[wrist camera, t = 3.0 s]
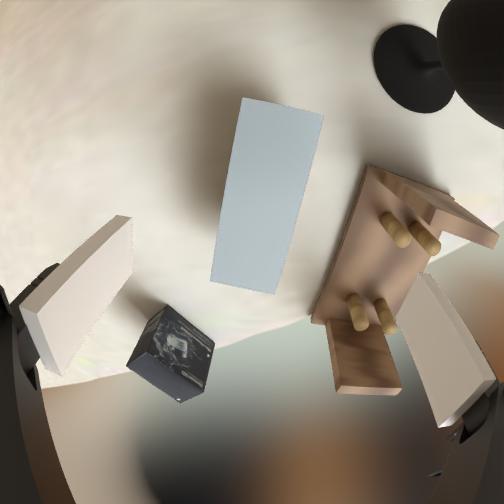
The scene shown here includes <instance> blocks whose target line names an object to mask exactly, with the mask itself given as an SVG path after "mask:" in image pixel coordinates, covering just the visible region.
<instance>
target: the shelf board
mask: <svg viewBox="0 0 504 504" xmlns="http://www.w3.org/2000/svg"><path fill="white" fill-rule="evenodd" d="M323 118H324V116H323V115H320V114H316V113H313V112H309V111H305V110H301V109H297V108H293V107H289V106H284V105H280V104H275V103H271V102H266V101H261V100H256V99H250V98H245V97H242V102H241V107H240V112H239V117H238V122H237V127H236V132H235V137H234V142H233V147H232V152H231V158H230V163H229V168H228V174H227V179H226V185H225V191H224V196H223V202H222V208H221V214H220V220H219V226H218V232H217V238H216V245H215V251H214V257H213V264H212V271H211V277H210V281H212V282H216V283H221V284H226V285H230V286H235V287H240V288H245V289H249V290H254V291H259V292H264V293H269V294H275V291H276V288H277V285H278V281H279V278H280V275H281V271H282V268H283V265H284V261H285V258H286V255H287V251H288V248H289V244H290V241H291V237H292V234H293V230H294V227H295V223H296V220H297V216H298V213H299V209H300V206H301V202H302V198H303V195H304V191H305V187H306V184H307V180H308V176H309V173H310V169H311V165H312V161H313V157H314V154H315V150H316V146H317V142H318V138H319V134H320V130H321V126H322V122H323Z"/></svg>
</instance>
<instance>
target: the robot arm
mask: <svg viewBox="0 0 504 504" xmlns="http://www.w3.org/2000/svg"><path fill="white" fill-rule="evenodd" d="M132 273H133V250H132V218H131V217H125V216H119V215H116V216H115V217H114V218H113V219H112V220H110V221H109V222H108V223H107V224H105V225H104V226H103V227H102V228H101V229H99V230H98V231H97V232H96V233H95V234H94V235H92V236H91V237H90V238H89V239H88V240H87V241H85V242H84V243H83V244H82V245H81V246H80V247H79V248H78V249H76V250H75V251H74V252H73V253H72V254H71V255H70V256H69V257H68V258H67V259H65V260H64V261H63V262H62V263H61V264H59V263H56V264H54V265H52V266H50V267H48V268H46V269H45V270H44V271H43V272H42V273H41V274H40V275H38V276H37V278H35V279H34V280H33V281H32V282H31V285H28V286H27V287H26V288H25V289H24V290H23V291H22V292H21V293H20V294H19V295H18V296H17V297H16V298H15V299H14V300H13V301H12V302H11V304H10V305H9V303H8V300H7V297H6V294H5V291H4V288H3V287H2V286H1V285H0V504H76V503H75V501H74V498H73V496H72V493H71V491H70V489H69V486H68V484H67V481H66V478H65V476H64V473H63V471H62V468H61V465H60V462H59V459H58V456H57V452H56V450H55V446H54V443H53V439H52V436H51V432H50V428H49V424H48V421H47V416H46V412H45V408H44V402H43V398H42V392H41V387H40V381H39V375H38V370H37V367H36V365H35V364H36V362H37V361H38V360H39V358H40V359H41V361H42V363H43V365H44V367H45V369H47V370H49V371H51V372H53V373H56V374H58V375H60V376H63V375H64V373H65V371H66V370H67V368H68V367H69V365H70V363H71V362H72V360H73V358H74V357H75V355H76V354H77V352H78V351H79V349H80V347H81V346H82V344H83V343H84V341H85V340H86V338H87V337H88V335H89V334H90V332H91V331H92V329H93V328H94V326H95V325H96V323H97V322H98V320H99V319H100V317H101V316H102V314H103V313H104V311H105V310H106V309H107V307H108V306H109V304H110V303H111V301H112V300H113V299H114V297H115V296H116V294H117V293H118V292H119V290H120V289H121V287H122V286H123V285H124V283H125V282H126V281H127V279H128V278H129V277H130V275H131V274H132ZM395 318H396V320H397V322H398V324H399V326H400V329H401V331H402V333H403V335H404V337H405V340H406V342H407V345H408V347H409V350H410V352H411V354H412V357H413V359H414V362H415V364H416V366H417V369H418V372H419V374H420V377H421V379H422V382H423V385H424V388H425V390H426V393H427V396H428V399H429V401H430V404H431V407H432V410H433V413H434V416H435V419H436V422H437V425H438V427H444V426H450V425H452V424H454V423H455V422H456V421H457V420H458V419H459V418H460V417H461V416H462V418H463V421H464V422H462V423H461V424H460V425H459V426H458V427H457V428H456V429H455V430H454V431H452V432H451V433H450V434H449V435H448V436H447V439H449V438H451V437H452V436H453V435H456V436H455V438H454V439H452V440H451V442H453V445H452V447H451V450H450V453H449V456H448V458H447V461H446V464H445V466H444V468H443V471H442V473H441V476H440V478H439V481H438V483H437V485H436V487H435V489H434V491H433V493H432V496H431V498H430V500H429V502H428V504H504V382H502V383H501V384H500V382H499V381H498V379H497V377H496V375H495V373H494V371H493V369H492V367H491V366H490V364H489V362H488V360H487V359H485V358H486V357H485V355H484V353H483V352H481V351H482V350H481V348H480V347H479V345H478V343H477V341H476V340H475V339H474V338H473V337H472V335H471V333H470V332H469V331H468V329H467V327H466V326H465V324H464V322H463V321H462V319H461V318H460V316H459V315H458V313H457V312H456V310H455V309H454V307H453V306H452V305H451V303H450V301H449V300H448V298H447V297H446V296H445V294H444V293H443V291H442V290H441V289H440V288H439V286H438V284H437V283H436V282H435V280H434V279H433V278H432V276H431V275H430V274H425V273H420V272H418V274H417V276H416V278H415V280H414V282H413V284H412V287H411V289H410V291H409V293H408V295H407V297H406V299H405V300H404V302H403V304H402V306H401V308H400V310H399V312H398V314H397V316H396V317H395Z"/></svg>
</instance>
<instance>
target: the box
mask: <svg viewBox="0 0 504 504" xmlns="http://www.w3.org/2000/svg"><path fill="white" fill-rule="evenodd" d="M214 346H215V343H214V342H213V341H211V340H210V339H209V338H208V337H206V336H205V335H204V334H203V333H201V332H200V331H199V330H198V329H196V328H195V327H194V326H193V325H191V324H190V323H189V322H188V321H187V320H185V319H184V318H183V317H182V316H181V315H179V314H178V313H177V312H176V311H175V310H173V309H172V308H171V307H170V306H169V305H168V306H166V307H165V308H164V309H162V310H161V311H160V312H159V313H158V314H156V315H155V316H154V317H153V318H151V319H150V320H149V321H148V323H147V325H146V327H145V329H144V331H143V333H142V334H141V337H140V339H139V341H138V343H137V345H136V347H135V349H134V351H133V353H132V355H131V357H130V359H129V361H128V363H127V365H126V366H127V367H128V368H129V369H130V370H133V371H134V372H136V373H137V374H138V375H140V376H141V377H142V378H144V379H146V380H147V381H148V382H150V383H151V384H152V385H154V386H156V387H157V388H158V389H160V390H161V391H163V392H165V393H166V394H168V395H169V396H171V397H172V398H174V399H175V400H176V401H177V402H179V403H182V402H184V401H186V400H188V399H191V398H193V397H195V396H197V395H199V394H202V393H203V392H204V389H205V385H206V381H207V376H208V371H209V367H210V363H211V359H212V354H213V350H214Z"/></svg>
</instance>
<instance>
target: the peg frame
mask: <svg viewBox="0 0 504 504" xmlns="http://www.w3.org/2000/svg"><path fill="white" fill-rule="evenodd" d="M454 200H455V198H453V197H452V196H450V195H447V194H445V193H443V192H440V191H438V190H436V189H433V188H431V187H428V186H426V185H423V184H421V183H418V182H415V181H413V180H410V179H408V178H405V177H402V176H399V175H397V174H394V173H391V172H388V171H385V170H382V169H380V168H377V167H374V166H371V165H367V164H366V167H365V171H364V174H363V177H362V180H361V184H360V187H359V190H358V193H357V196H356V199H355V202H354V205H353V208H352V211H351V214H350V217H349V220H348V223H347V226H346V229H345V231H344V234H343V237H342V240H341V243H340V245H339V248H338V251H337V253H336V256H335V259H334V261H333V264H332V267H331V269H330V272H329V274H328V277H327V279H326V282H325V285H324V287H323V290H322V292H321V294H320V297H319V299H318V302H317V304H316V307H315V309H314V311H313V314H312V316H311V323H313V324H319V325H325V326H326V332H327V338H328V344H329V350H330V356H331V363H332V369H333V376H334V382H335V389H336V393H345V394H367V395H397V394H398V393H399V391H400V390H401V389H402V385H401V382H400V379H399V376H398V373H397V370H396V367H395V364H394V361H393V358H392V355H391V352H390V349H389V346H388V344H387V341H386V338H385V336H384V334H386V335H391V334H393V333H394V332H396V330H397V328H398V327H397V324H396V318H395V317H396V316H397V314H398V312H399V310H400V308H401V306H402V304H403V302H404V300H405V299H406V297H407V295H408V293H409V291H410V289H411V287H412V284H413V282H414V280H415V278H416V276H417V274H418V272H420V273H423V271H424V269H425V267H426V265H427V263H428V261H429V259H430V257H431V256H435V255H436V254H438V253H439V251H440V249H441V243H440V242H439V241H438V239H439V237H440V235H441V232H442V231H445V232H448V233H451V234H454V235H456V236H459V237H462V238H465V239H467V240H470V241H472V242H475V243H478V244H480V245H483V246H485V247H488V248H490V249H493V248H494V246H495V244H496V242H497V240H498V238H499V235H498V234H497V233H496V232H495V231H494V230H492V229H491V228H490V227H489V226H487V225H486V224H485V223H483V222H482V221H481V220H479V219H478V218H477V217H475V216H474V215H473V214H471V213H470V212H469V211H467V210H466V209H465V208H463V207H462V206H460V205H459V204H458V203H456V202H455V201H454Z"/></svg>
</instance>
